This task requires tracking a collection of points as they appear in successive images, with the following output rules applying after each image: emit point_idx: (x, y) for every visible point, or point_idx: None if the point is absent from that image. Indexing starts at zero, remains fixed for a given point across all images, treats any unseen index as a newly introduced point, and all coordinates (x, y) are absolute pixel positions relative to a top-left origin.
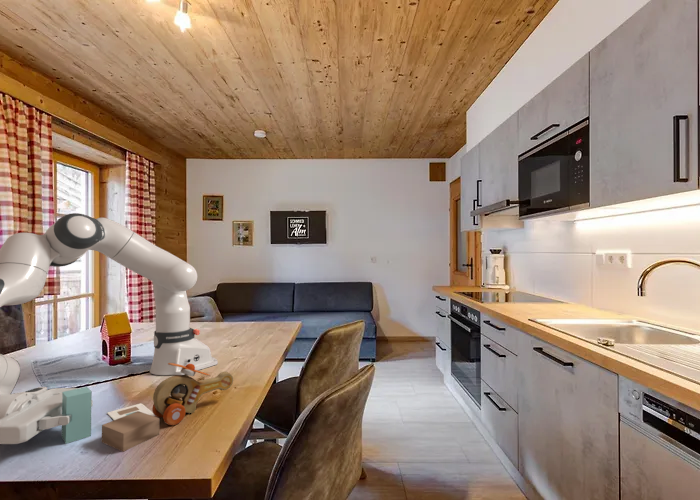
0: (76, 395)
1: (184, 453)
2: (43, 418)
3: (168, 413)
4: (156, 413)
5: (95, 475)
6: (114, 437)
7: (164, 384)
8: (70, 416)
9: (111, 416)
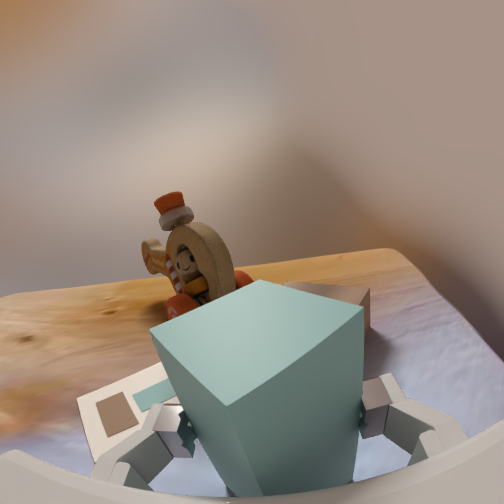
0: (315, 298)
1: (354, 272)
2: (452, 444)
3: None
4: None
5: (450, 312)
6: None
7: (216, 232)
8: (368, 379)
9: None
